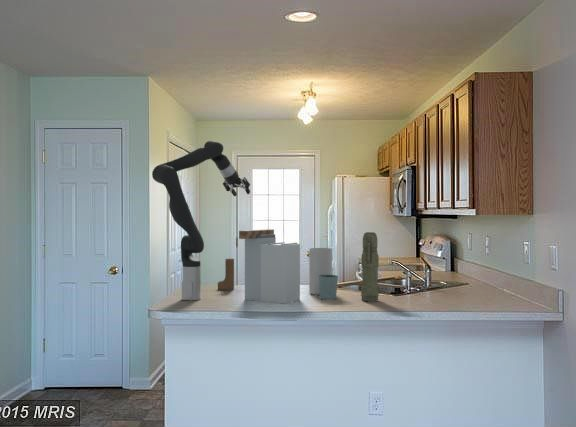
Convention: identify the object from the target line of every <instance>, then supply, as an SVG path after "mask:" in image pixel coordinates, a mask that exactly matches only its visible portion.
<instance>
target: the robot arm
mask: <svg viewBox="0 0 576 427" xmlns="http://www.w3.org/2000/svg"><path fill="white" fill-rule="evenodd" d="M223 152H224V146H223V144H222V143H221V142H219V141H215V140H214V141H213V140H208V141H206V142H205V143H204V146H203V147H200V148H196V149H195V150H193V151H191V152H189V153H187V154H185V155H182V156H181V157H178V158H176V159H173V160H169V161H167V162H164V163H160V164H158V165H156V166H155V167H153V170H152V172H151V175H152V178H153V180H154V181H155V182H157V183H158V184H161V185H163V186H164V187H165V188H166V191H167V194H168V196H169V202H168V207H169V208H168V209H169V211H170V214H171V217H172V219H173V221H174V222H175V223H176V224H177V225H178V226H179V227H180V228H181V229H182V230H184V231H185V232H186V234H187V235H184V236H182V237H181V239H180V240H181V241H180V258H181V264H182V275H181V276H182V281H181V300H182V301H198V300H201V260H199V259H198V258H196V257H195V256H194V255H193V254H200V253H202V252H203V251H204V248H205V242H204V238H203V237H202V234H201V233H200V231H199V228H198V227H197V225H196V222H195V221H194V218H193V215H192V212H191V209H190V207H189V205H188V201H187V200H186V197H185V195H184V193H183V189H182V185H181V181H180V179H179V174H178V172H180V171H182V170H186V169H190V168H195V167H197V166H198V165H201V164H202V163H204V162H205V161H207V160H211V161H212V162H213V163H214V164H215V165H216V167H217V169H218V171H219V173H220V174H221V176H222V178H223V179H224V181H223V183H222V186H223V187H224V190H225V191H226V192H230V193H231V194H232V196H233V197H237V195H238V193H237V191H236V190H235V189H236V188H240V189H244V191H245V192H246V195H250V193H251V190H250V186H251V183H250V182H249V180H248V179H247V178H246V177H245V176H243V177H242V178H241V177H240V176H239V173H238V172H237V170H236V169H235V167H234V165H233V164H232V163H231V161H230V159H229V158H228V156H227V155H226V154H224V153H223Z"/></svg>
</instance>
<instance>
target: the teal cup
mask: <svg viewBox="0 0 576 427" xmlns="http://www.w3.org/2000/svg"><path fill="white" fill-rule="evenodd" d="M338 279H339V275H335V274H332V275H319V290H320V295H319V299H320V300H325V299H332V300H336V299H337V293H338V292H337V291H338V281H339V280H338Z"/></svg>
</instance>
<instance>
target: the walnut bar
mask: <svg viewBox="0 0 576 427" xmlns="http://www.w3.org/2000/svg"><path fill="white" fill-rule="evenodd" d="M270 234H275V229H271V228H270V229H269V228H268V229H251V230H250V229H249V230H238V239H240V240H245V239H253V238H257V235H270Z"/></svg>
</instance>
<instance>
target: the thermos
mask: <svg viewBox="0 0 576 427" xmlns="http://www.w3.org/2000/svg"><path fill="white" fill-rule="evenodd" d="M362 235H363V236H362V254H361V255H360V256H361V260H360V261H361V269H362V270H361V273H362V275H361V276H362V278H361V282H362V283H361V289H360V296H361V300H363V301H362V302H365V301H376V300H378V301H379V296H380V294H379V293H380V292H379V287H378V286H379V285H378V280H379V279H378V276H379V274H378V273H379V272H378V270H379V269H378V268H379V267H380V266H379V260H380V259H379V258H380V257H379V254H378V236H377V233H375V232H374V231H373V232H372V231H371V232H370V231H369V232H365V233H363V234H362Z"/></svg>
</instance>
